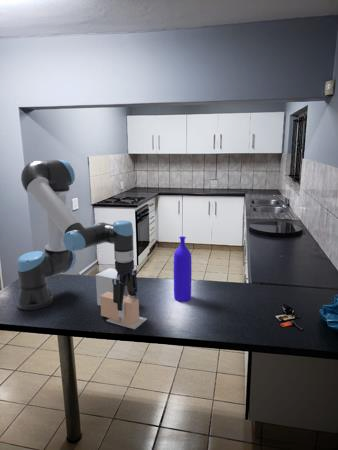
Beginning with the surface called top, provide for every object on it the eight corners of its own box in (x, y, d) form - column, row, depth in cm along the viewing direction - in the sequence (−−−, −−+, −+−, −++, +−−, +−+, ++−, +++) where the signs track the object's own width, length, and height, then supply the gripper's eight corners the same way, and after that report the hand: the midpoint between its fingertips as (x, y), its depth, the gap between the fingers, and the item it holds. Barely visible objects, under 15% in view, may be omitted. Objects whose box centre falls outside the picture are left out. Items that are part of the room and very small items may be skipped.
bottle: (176, 303, 155) (176, 240, 148) (171, 296, 163) (171, 235, 156) (193, 301, 157) (194, 238, 150) (188, 293, 165) (188, 234, 158)
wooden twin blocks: (101, 315, 143) (99, 295, 141) (108, 310, 147) (107, 291, 145) (132, 324, 135) (131, 303, 133) (139, 319, 140) (138, 298, 138)
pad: (106, 321, 139) (106, 320, 139) (119, 312, 147) (119, 311, 147) (134, 329, 133) (134, 328, 132) (146, 319, 140) (146, 318, 140)
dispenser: (97, 304, 154) (95, 274, 151) (111, 296, 162) (109, 267, 159) (120, 311, 148) (119, 279, 145) (133, 302, 156) (132, 272, 153)
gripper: (117, 268, 124) (119, 326, 129) (145, 254, 140) (146, 306, 145) (101, 265, 128) (104, 321, 133) (130, 252, 144) (132, 302, 149)
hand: (126, 313), depth 139 cm, fingers open, 6 cm apart
